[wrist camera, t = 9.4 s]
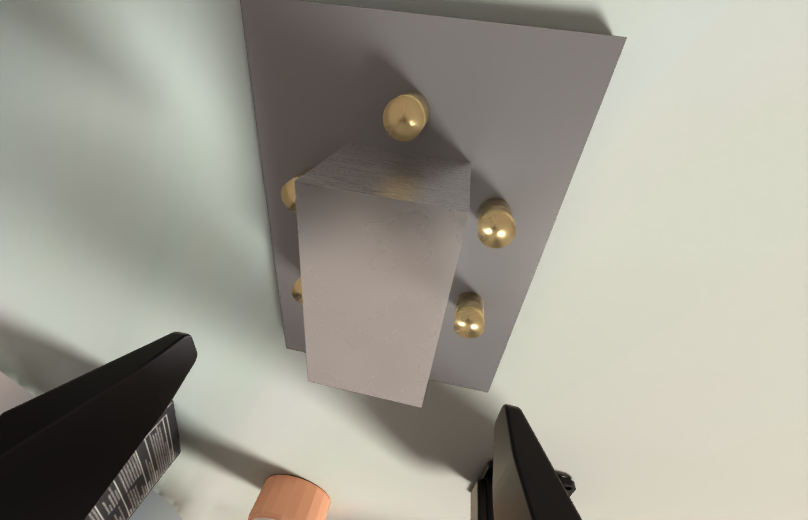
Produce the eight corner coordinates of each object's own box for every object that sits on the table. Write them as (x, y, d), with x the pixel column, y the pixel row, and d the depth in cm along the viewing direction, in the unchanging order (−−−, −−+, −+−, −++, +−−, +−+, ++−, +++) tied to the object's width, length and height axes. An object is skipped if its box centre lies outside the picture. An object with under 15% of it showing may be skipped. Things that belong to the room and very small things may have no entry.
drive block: (470, 162, 13) (469, 212, 9) (433, 325, 18) (421, 407, 14) (349, 142, 14) (294, 180, 9) (345, 307, 18) (308, 380, 14)
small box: (106, 374, 29) (-50, 509, 21) (175, 399, 30) (49, 544, 21) (125, 431, 35) (9, 556, 26) (182, 452, 35) (86, 583, 27)
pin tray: (615, 38, 11) (653, 34, 9) (487, 379, 21) (489, 419, 18) (255, -3, 12) (203, -16, 10) (293, 337, 22) (271, 370, 20)
